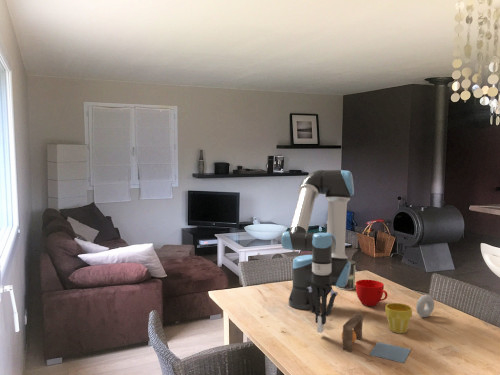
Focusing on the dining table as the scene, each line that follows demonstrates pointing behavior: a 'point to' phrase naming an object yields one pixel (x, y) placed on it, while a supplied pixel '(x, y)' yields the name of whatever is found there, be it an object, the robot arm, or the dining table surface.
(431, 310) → the donut
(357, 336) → the bridge
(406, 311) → the plant pot
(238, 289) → the dining table surface
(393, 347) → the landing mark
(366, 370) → the dining table surface
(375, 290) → the ceramic cup
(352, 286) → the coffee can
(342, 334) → the ball
